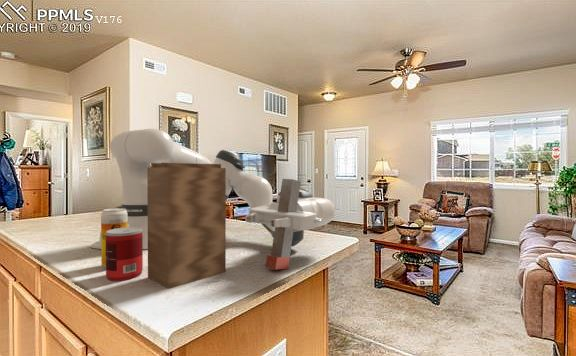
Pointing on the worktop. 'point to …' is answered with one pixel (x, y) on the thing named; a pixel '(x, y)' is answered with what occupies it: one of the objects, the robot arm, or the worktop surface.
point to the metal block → (281, 234)
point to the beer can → (111, 226)
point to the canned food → (124, 253)
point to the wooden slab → (186, 222)
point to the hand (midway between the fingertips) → (259, 221)
